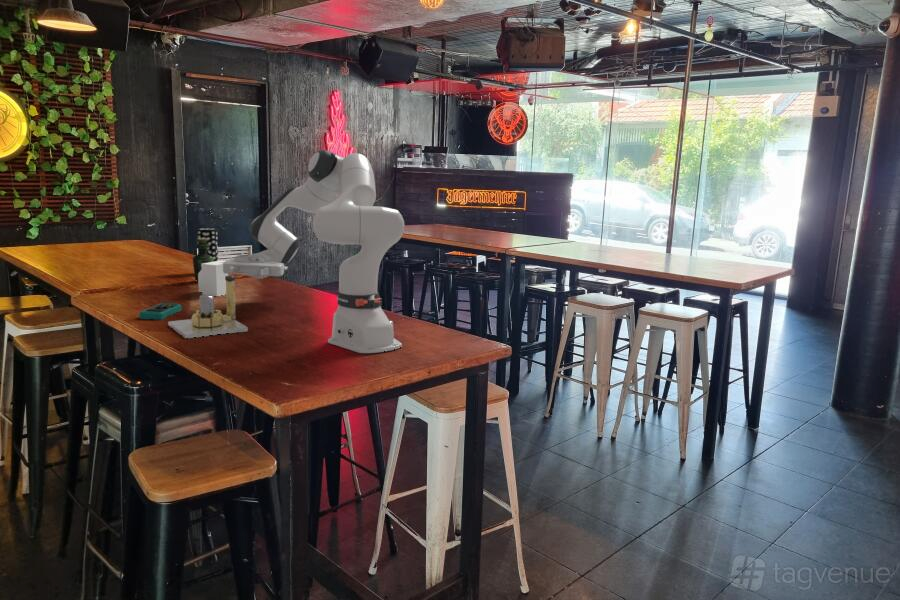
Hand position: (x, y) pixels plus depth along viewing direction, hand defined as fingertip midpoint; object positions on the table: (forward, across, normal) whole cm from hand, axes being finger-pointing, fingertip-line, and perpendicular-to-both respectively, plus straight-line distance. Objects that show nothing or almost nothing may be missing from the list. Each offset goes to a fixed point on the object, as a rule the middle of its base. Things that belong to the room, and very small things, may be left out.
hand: (245, 272), depth 211 cm
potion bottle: (-54, +40, -16) cm, 69 cm away
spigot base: (+20, +4, -14) cm, 25 cm away
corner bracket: (-32, +25, -15) cm, 43 cm away
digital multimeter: (+6, +26, -15) cm, 31 cm away
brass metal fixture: (+18, +3, -13) cm, 22 cm away
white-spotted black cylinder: (-73, +46, -16) cm, 88 cm away
